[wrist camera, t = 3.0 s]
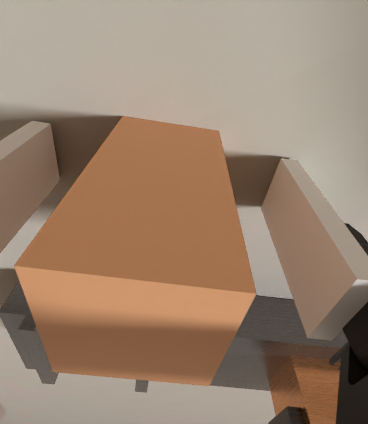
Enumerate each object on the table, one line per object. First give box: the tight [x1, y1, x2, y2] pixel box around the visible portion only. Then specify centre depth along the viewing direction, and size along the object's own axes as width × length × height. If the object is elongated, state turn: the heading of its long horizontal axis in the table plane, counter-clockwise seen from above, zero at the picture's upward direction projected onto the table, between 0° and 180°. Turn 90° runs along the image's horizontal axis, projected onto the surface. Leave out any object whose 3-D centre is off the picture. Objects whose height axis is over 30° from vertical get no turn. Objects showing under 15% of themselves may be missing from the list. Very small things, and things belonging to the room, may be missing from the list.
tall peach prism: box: [14, 116, 256, 386], centre depth 9 cm, size 4×5×8 cm
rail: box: [0, 281, 348, 424], centre depth 15 cm, size 7×24×11 cm, turn 82°
